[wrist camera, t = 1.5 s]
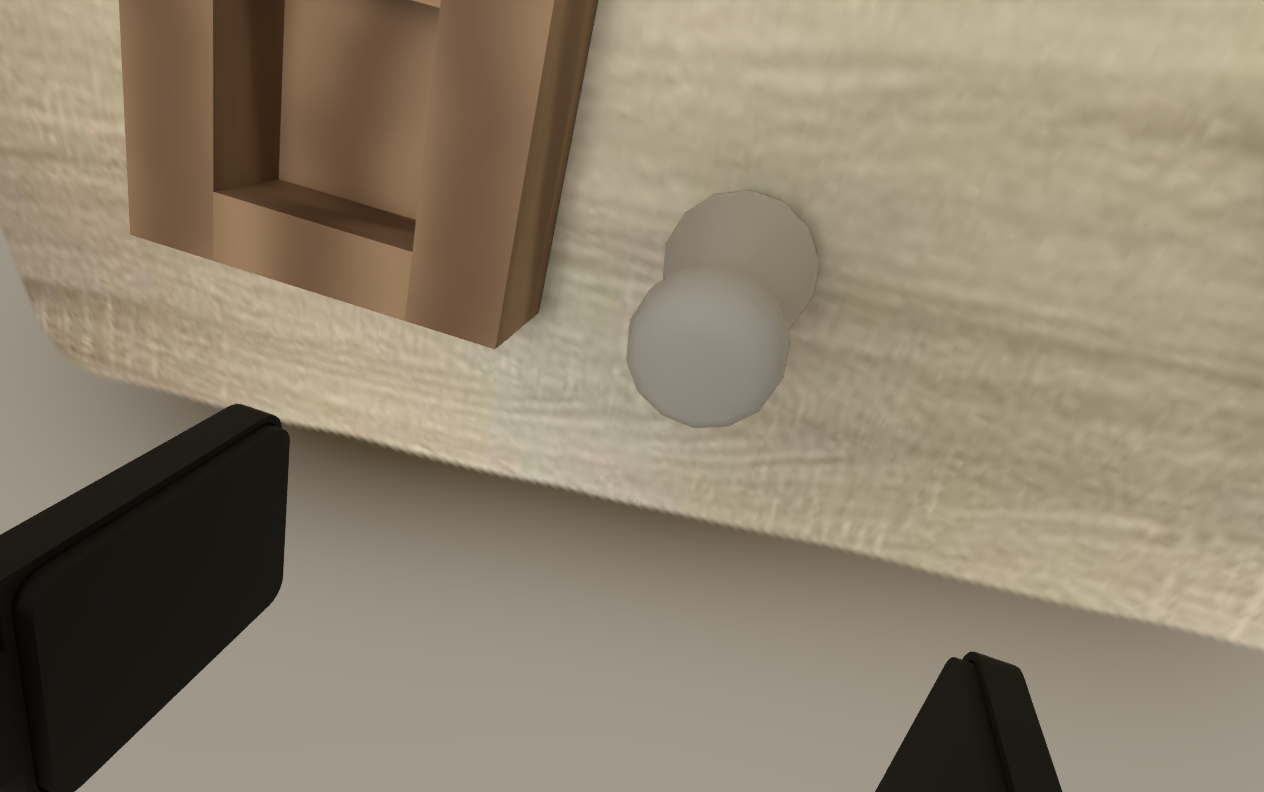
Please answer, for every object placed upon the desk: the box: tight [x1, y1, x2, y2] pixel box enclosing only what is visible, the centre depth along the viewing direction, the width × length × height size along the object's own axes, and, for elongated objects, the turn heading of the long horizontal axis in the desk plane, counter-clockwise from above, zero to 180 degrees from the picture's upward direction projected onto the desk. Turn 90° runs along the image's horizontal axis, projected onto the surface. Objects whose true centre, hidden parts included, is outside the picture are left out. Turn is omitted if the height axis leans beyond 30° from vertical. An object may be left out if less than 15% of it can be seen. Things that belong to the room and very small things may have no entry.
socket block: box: [119, 0, 598, 349], centre depth 30 cm, size 16×14×5 cm
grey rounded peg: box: [627, 190, 819, 428], centre depth 25 cm, size 6×6×13 cm
